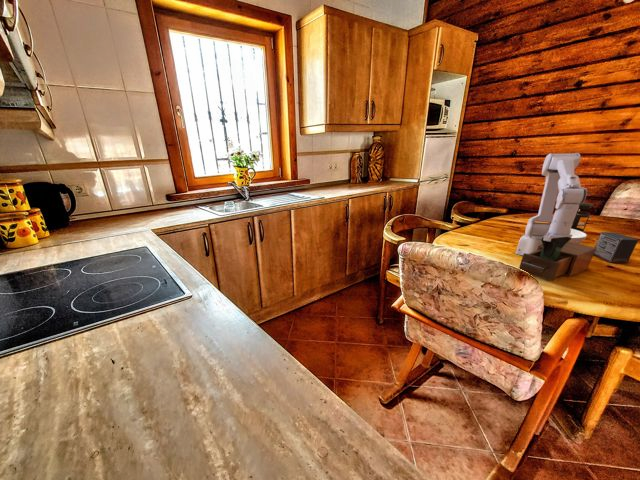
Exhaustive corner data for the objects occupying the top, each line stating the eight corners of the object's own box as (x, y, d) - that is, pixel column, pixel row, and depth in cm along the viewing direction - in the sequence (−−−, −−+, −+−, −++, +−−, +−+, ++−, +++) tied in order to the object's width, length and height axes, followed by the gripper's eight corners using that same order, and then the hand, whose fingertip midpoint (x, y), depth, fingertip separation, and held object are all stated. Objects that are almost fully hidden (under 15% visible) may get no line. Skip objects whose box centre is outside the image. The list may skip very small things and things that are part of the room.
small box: (629, 263, 116) (640, 239, 111) (610, 262, 117) (620, 239, 113) (607, 254, 125) (617, 231, 121) (590, 253, 126) (599, 231, 122)
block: (539, 257, 110) (542, 247, 108) (544, 255, 112) (547, 245, 110) (553, 261, 106) (557, 250, 105) (558, 258, 108) (562, 248, 106)
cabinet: (569, 276, 108) (577, 255, 104) (531, 265, 118) (538, 245, 115) (587, 268, 113) (596, 247, 110) (550, 258, 124) (557, 239, 120)
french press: (582, 233, 150) (599, 190, 141) (585, 238, 144) (603, 193, 134) (553, 230, 157) (568, 189, 148) (554, 235, 150) (569, 192, 141)
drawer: (546, 283, 102) (552, 265, 99) (512, 272, 112) (517, 255, 109) (570, 272, 109) (577, 255, 106) (536, 263, 118) (542, 247, 115)
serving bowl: (577, 254, 126) (583, 240, 123) (520, 244, 141) (524, 231, 138) (585, 243, 138) (590, 230, 135) (531, 234, 153) (535, 222, 150)
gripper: (565, 227, 97) (552, 262, 102) (586, 220, 102) (573, 254, 108) (541, 222, 103) (530, 256, 108) (562, 216, 108) (550, 249, 114)
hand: (550, 255), depth 108 cm, fingers closed on block, 4 cm apart
